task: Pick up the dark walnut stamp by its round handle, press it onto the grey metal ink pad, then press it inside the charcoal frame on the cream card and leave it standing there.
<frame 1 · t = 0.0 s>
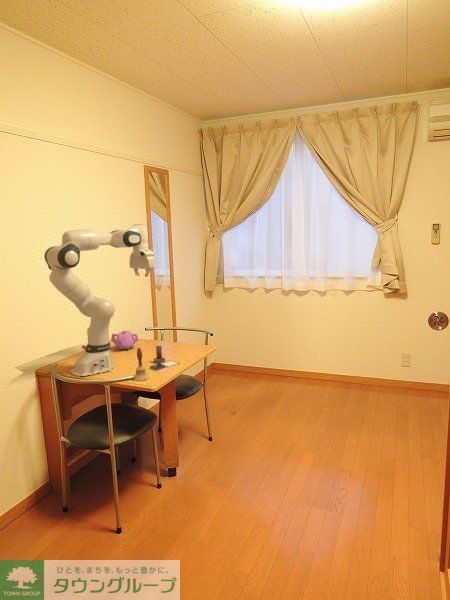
hand: (142, 276, 239), 48 cm above the table, tool pointing down, fingers open, 8 cm apart
hand bell: (141, 378, 207), on the table
marked card: (169, 364, 229), on the table
pot: (125, 348, 263), on the table
stamp: (159, 362, 233), on the table
ink pad: (157, 368, 223), on the table
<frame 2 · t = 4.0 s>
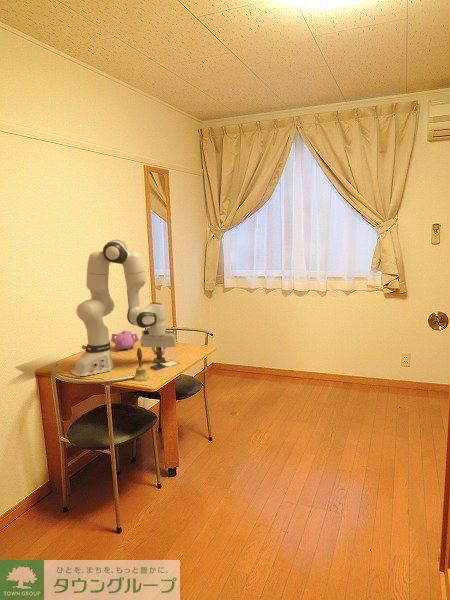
hand: (159, 354, 232), 5 cm above the table, tool pointing down, fingers closed on stamp, 3 cm apart
stamp: (159, 362, 233), on the table, touching gripper
everything else where it was.
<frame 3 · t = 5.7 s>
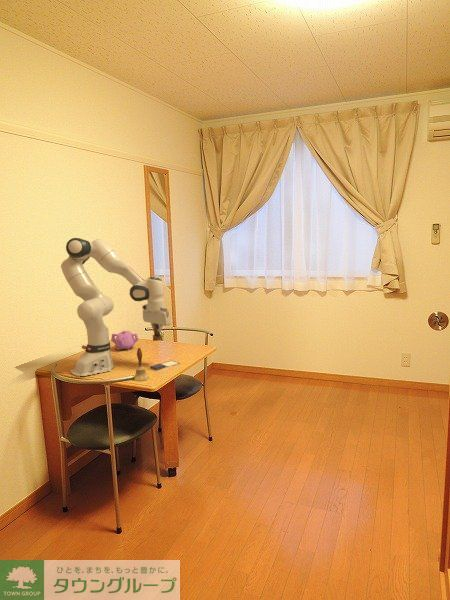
hand: (157, 331, 226), 19 cm above the table, tool pointing down, fingers closed on stamp, 3 cm apart
stamp: (157, 339, 227), point 14 cm above the table, touching gripper
everything else where it was.
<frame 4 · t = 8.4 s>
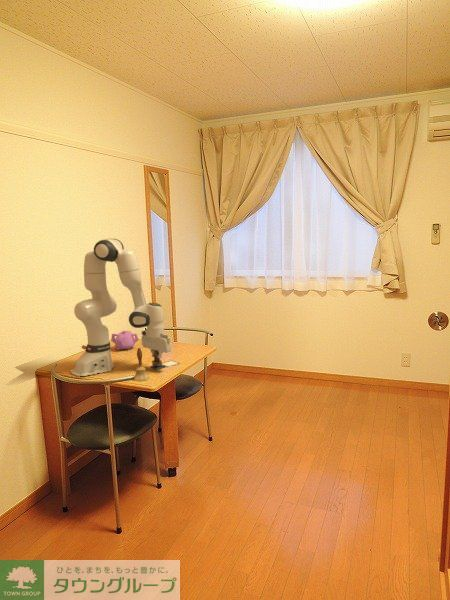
hand: (156, 357, 222), 6 cm above the table, tool pointing down, fingers closed on stamp, 3 cm apart
stamp: (157, 365, 223), point 2 cm above the table, touching gripper
everything else where it was.
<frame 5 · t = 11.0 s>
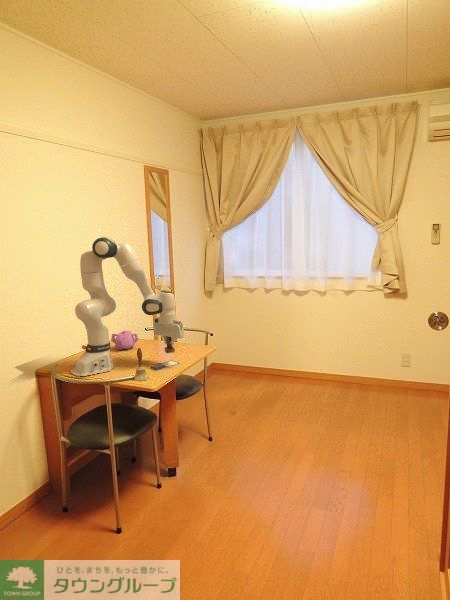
hand: (169, 344, 227), 12 cm above the table, tool pointing down, fingers closed on stamp, 3 cm apart
stamp: (169, 351, 228), point 7 cm above the table, touching gripper
everything else where it was.
when the fingers open (5 cm above the table, at t = 13.4 s): stamp stays where it is, resting on marked card.
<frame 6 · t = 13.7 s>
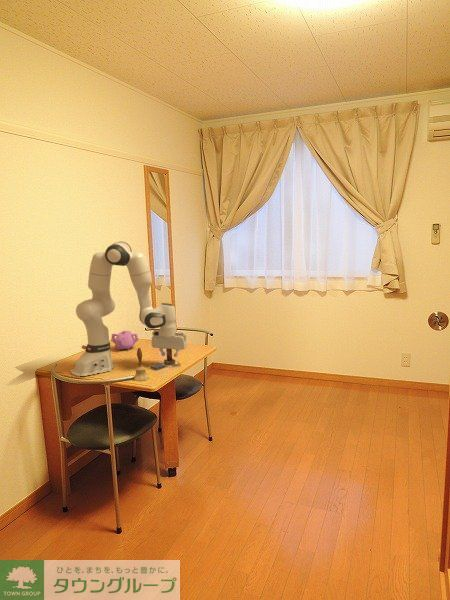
hand: (169, 356, 228), 5 cm above the table, tool pointing down, fingers open, 6 cm apart
stamp: (169, 363, 229), resting on marked card
everything else where it was.
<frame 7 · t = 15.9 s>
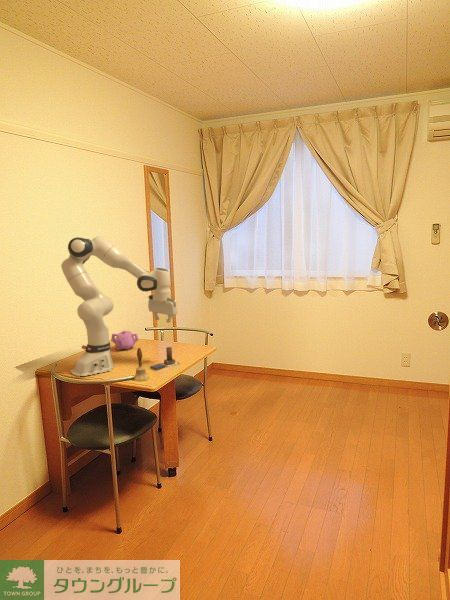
hand: (162, 321, 231), 23 cm above the table, tool pointing down, fingers open, 8 cm apart
nothing on the table moved.
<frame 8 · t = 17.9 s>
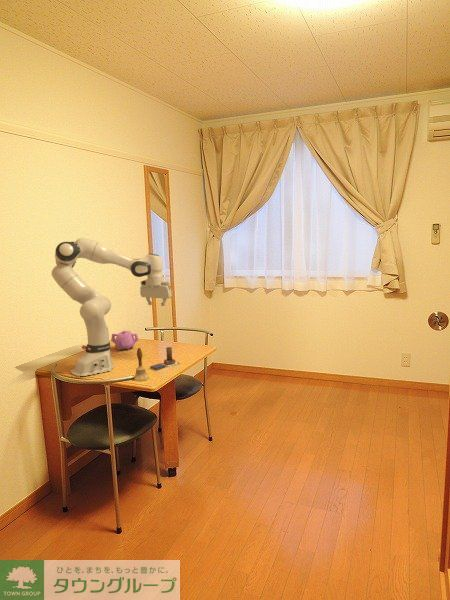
hand: (156, 305, 239), 31 cm above the table, tool pointing down, fingers open, 8 cm apart
nothing on the table moved.
at the end: stamp 0.2 cm off-centre on the marked card, point 0.3 cm above the marked card's base; stamp tilted 0°; the gripper is holding nothing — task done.
